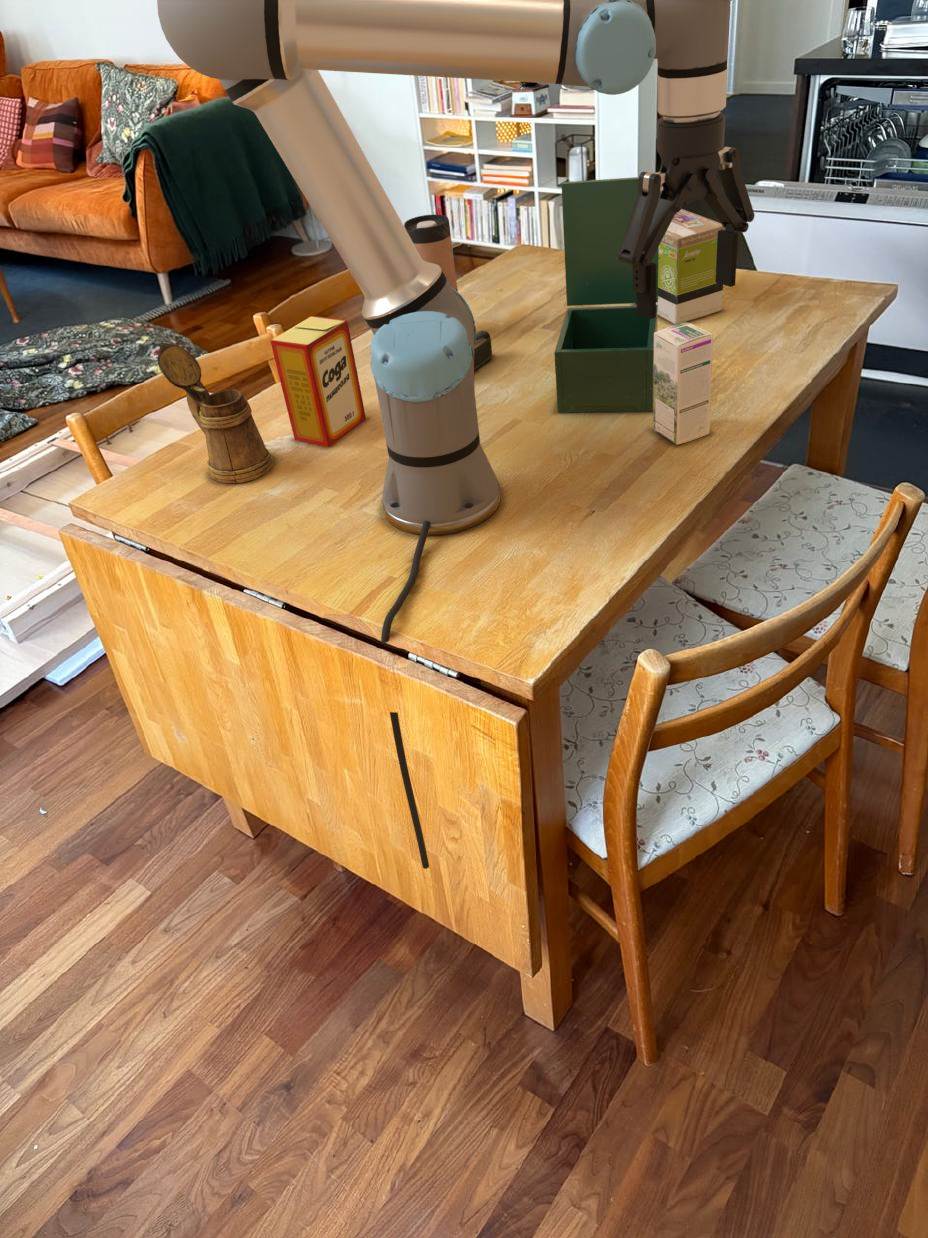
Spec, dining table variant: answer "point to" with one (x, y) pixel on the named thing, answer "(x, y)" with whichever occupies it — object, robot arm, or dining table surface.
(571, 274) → the lid
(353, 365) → the baking soda box
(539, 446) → the dining table surface
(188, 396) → the wooden mug
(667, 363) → the syrup box
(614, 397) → the tin
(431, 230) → the travel mug
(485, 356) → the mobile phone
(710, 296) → the tea box
